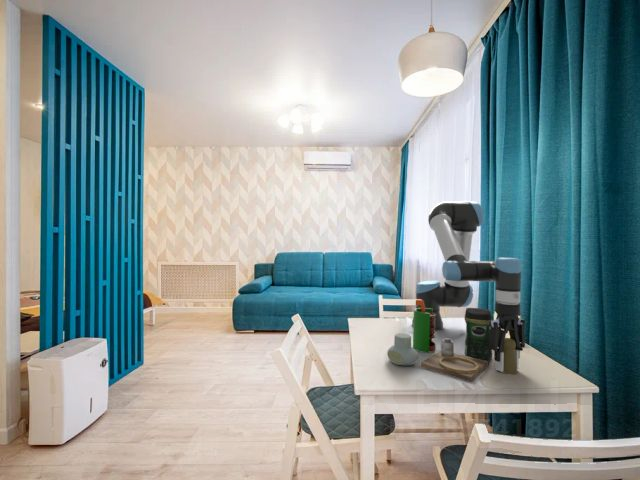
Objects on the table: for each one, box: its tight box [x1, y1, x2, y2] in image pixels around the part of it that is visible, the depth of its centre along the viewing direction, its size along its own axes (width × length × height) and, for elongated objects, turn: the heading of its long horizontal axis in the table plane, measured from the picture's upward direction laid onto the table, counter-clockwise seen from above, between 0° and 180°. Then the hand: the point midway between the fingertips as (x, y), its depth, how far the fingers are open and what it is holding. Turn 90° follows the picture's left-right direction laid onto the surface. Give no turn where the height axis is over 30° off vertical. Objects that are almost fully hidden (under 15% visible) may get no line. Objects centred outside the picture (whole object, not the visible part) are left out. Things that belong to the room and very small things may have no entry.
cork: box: [499, 337, 518, 375], centre depth 110 cm, size 6×6×11 cm
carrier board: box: [420, 337, 489, 383], centre depth 113 cm, size 18×17×8 cm
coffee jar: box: [463, 307, 493, 361], centre depth 123 cm, size 10×8×19 cm
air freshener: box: [386, 332, 419, 367], centre depth 116 cm, size 11×8×10 cm
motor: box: [412, 298, 437, 353], centre depth 132 cm, size 10×9×20 cm
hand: (506, 369), depth 110 cm, fingers closed on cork, 6 cm apart
